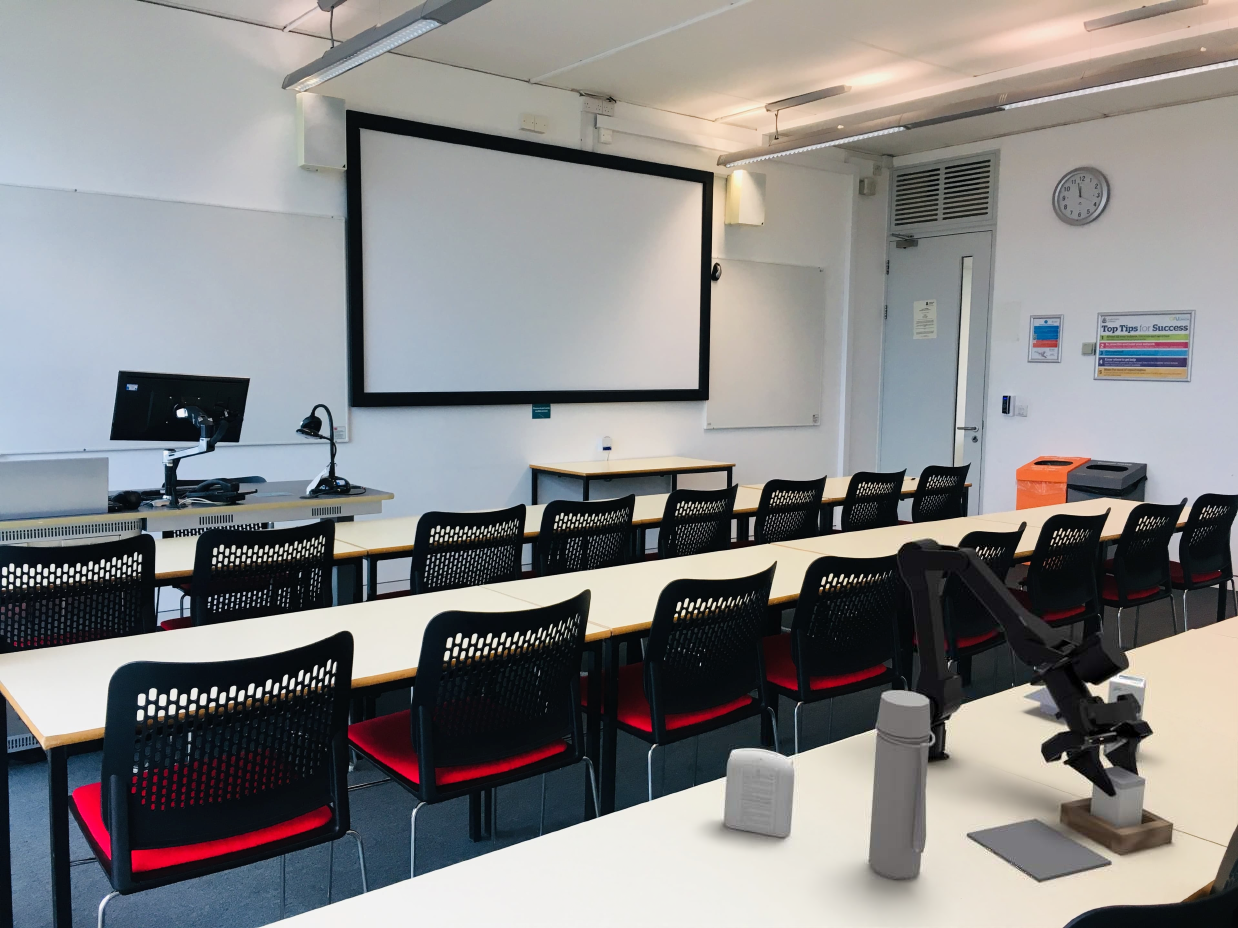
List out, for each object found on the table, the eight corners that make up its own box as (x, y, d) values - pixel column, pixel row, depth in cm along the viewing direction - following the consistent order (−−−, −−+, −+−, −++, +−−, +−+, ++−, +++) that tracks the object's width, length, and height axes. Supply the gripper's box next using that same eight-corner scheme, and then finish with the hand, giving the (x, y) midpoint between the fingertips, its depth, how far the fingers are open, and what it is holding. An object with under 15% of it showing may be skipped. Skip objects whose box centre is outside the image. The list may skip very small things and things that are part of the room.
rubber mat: (1039, 881, 137) (1039, 878, 137) (966, 835, 150) (966, 832, 150) (1111, 863, 142) (1111, 861, 142) (1035, 820, 155) (1035, 818, 155)
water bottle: (855, 861, 141) (865, 692, 138) (899, 851, 144) (910, 686, 141) (897, 894, 132) (909, 714, 130) (943, 883, 136) (955, 708, 133)
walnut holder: (1119, 854, 145) (1121, 835, 145) (1059, 821, 155) (1061, 803, 155) (1171, 842, 150) (1173, 823, 149) (1109, 810, 160) (1111, 792, 159)
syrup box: (1139, 751, 185) (1146, 676, 183) (1136, 762, 180) (1143, 685, 178) (1106, 744, 188) (1112, 670, 186) (1102, 754, 183) (1109, 678, 181)
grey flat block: (793, 827, 150) (797, 749, 149) (789, 840, 146) (793, 760, 145) (726, 816, 153) (730, 740, 152) (721, 828, 149) (724, 750, 148)
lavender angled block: (1063, 726, 197) (1095, 713, 205) (1066, 693, 196) (1098, 681, 204) (1021, 712, 204) (1054, 700, 212) (1023, 680, 203) (1056, 670, 211)
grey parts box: (1116, 840, 149) (1122, 783, 148) (1089, 825, 154) (1094, 770, 153) (1139, 834, 151) (1145, 778, 150) (1112, 820, 156) (1117, 765, 155)
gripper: (1062, 682, 150) (1117, 781, 141) (1148, 670, 157) (1206, 763, 148) (1018, 714, 158) (1068, 809, 149) (1102, 701, 165) (1154, 791, 156)
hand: (1126, 793), depth 150 cm, fingers closed on grey parts box, 5 cm apart
